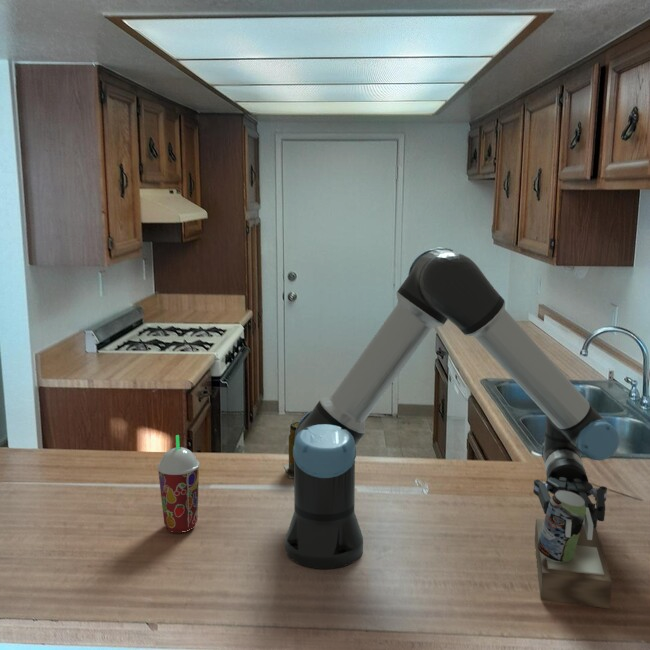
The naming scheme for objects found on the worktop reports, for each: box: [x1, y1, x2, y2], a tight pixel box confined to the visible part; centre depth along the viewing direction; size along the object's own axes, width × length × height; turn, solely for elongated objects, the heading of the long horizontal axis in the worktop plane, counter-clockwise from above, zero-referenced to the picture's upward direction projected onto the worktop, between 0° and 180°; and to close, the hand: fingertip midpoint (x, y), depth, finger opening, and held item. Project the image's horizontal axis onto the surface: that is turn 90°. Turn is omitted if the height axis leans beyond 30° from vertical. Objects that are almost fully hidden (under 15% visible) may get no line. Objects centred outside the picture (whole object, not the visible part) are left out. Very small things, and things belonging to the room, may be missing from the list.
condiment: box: [283, 421, 300, 479], centre depth 167 cm, size 7×8×12 cm
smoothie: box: [157, 434, 200, 533], centre depth 138 cm, size 8×8×20 cm
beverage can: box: [538, 490, 586, 563], centre depth 116 cm, size 6×7×12 cm
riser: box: [534, 518, 613, 609], centre depth 122 cm, size 11×20×5 cm, turn 166°
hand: (579, 531), depth 112 cm, fingers closed on beverage can, 3 cm apart
